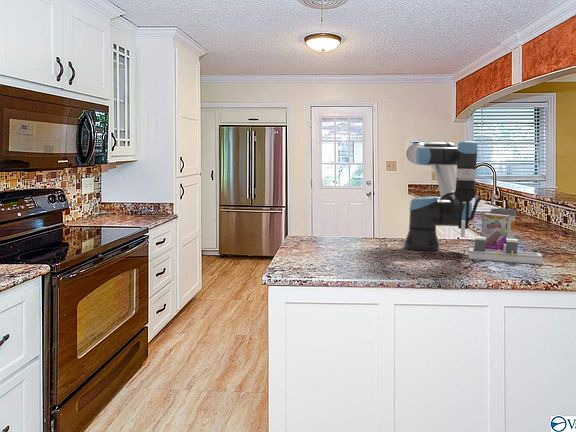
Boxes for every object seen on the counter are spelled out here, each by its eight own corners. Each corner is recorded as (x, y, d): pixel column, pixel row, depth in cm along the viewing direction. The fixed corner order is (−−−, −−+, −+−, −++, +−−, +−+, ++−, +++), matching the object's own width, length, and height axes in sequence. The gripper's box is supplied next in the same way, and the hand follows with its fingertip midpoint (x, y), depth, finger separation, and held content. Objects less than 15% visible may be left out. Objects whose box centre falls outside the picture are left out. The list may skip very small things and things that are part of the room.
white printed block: (491, 239, 258) (493, 210, 257) (486, 235, 271) (488, 208, 269) (517, 240, 256) (519, 211, 255) (510, 236, 269) (512, 208, 267)
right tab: (505, 254, 203) (506, 239, 202) (505, 253, 206) (506, 238, 206) (517, 255, 201) (518, 240, 201) (515, 253, 205) (517, 239, 204)
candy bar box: (479, 250, 226) (482, 213, 224) (484, 248, 229) (486, 213, 227) (505, 253, 218) (507, 216, 216) (509, 252, 222) (512, 215, 220)
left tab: (474, 252, 206) (475, 237, 206) (474, 250, 210) (474, 236, 210) (485, 253, 205) (485, 238, 204) (484, 251, 209) (485, 237, 208)
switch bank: (469, 258, 205) (469, 244, 204) (468, 254, 214) (469, 240, 213) (542, 264, 196) (543, 249, 195) (538, 259, 205) (540, 245, 205)
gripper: (448, 179, 205) (445, 236, 208) (483, 180, 201) (479, 238, 203) (449, 179, 212) (446, 234, 215) (482, 179, 208) (479, 236, 210)
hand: (462, 236), depth 209 cm, fingers closed
